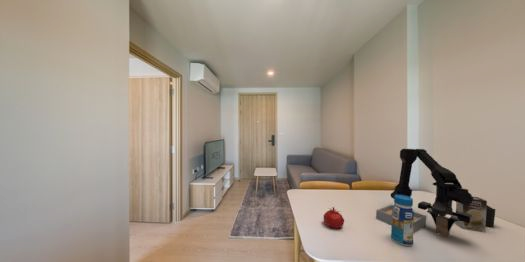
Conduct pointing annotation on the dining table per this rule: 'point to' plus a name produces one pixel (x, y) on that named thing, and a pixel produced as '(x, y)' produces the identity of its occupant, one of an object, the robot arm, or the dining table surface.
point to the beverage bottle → (402, 220)
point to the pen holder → (490, 216)
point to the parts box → (385, 216)
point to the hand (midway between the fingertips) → (442, 228)
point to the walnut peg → (442, 225)
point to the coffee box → (473, 214)
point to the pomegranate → (333, 218)
